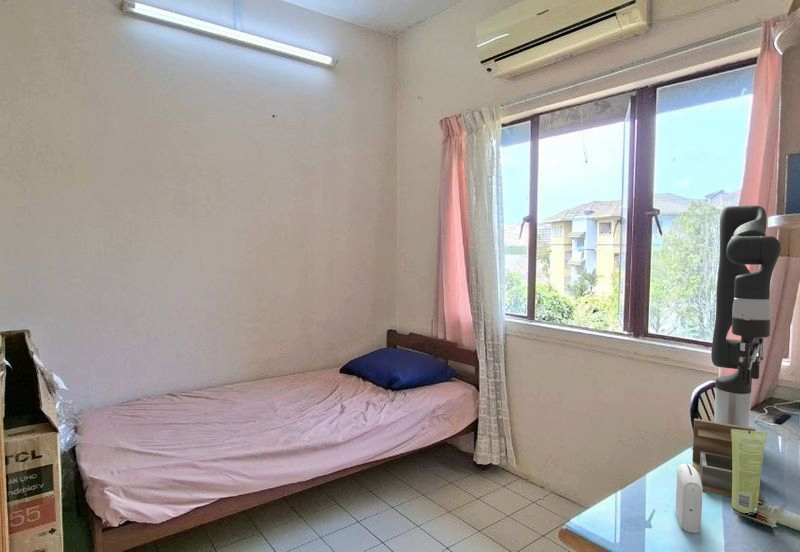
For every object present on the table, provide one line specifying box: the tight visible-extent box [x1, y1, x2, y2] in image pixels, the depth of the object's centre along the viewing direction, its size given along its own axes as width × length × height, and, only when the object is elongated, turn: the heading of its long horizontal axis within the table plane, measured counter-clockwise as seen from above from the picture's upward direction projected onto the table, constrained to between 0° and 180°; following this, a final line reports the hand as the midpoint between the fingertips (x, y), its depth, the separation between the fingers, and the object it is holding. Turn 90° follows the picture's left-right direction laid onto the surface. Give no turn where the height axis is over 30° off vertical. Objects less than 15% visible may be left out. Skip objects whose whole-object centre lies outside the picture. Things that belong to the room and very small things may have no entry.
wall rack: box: [692, 418, 764, 504], centre depth 122 cm, size 17×14×13 cm
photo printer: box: [675, 463, 703, 534], centre depth 105 cm, size 10×4×12 cm, turn 156°
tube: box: [731, 429, 768, 514], centre depth 109 cm, size 6×5×20 cm
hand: (749, 381), depth 114 cm, fingers open, 8 cm apart
